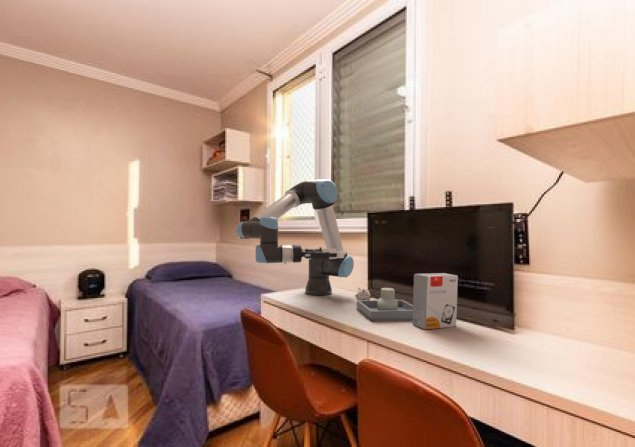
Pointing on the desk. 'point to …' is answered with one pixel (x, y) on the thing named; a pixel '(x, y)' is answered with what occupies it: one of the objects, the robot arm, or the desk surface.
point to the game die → (363, 294)
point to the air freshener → (387, 300)
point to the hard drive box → (435, 300)
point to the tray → (373, 314)
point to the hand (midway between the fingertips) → (339, 253)
